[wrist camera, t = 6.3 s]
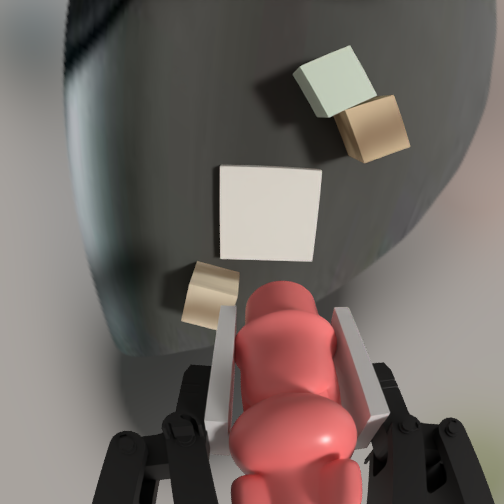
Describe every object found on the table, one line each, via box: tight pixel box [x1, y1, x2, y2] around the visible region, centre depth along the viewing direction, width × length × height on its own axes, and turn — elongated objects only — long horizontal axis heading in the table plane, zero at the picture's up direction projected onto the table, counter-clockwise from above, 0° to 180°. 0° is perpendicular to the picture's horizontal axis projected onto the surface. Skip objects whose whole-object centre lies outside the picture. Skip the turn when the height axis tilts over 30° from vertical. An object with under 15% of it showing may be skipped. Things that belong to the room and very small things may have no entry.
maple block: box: [181, 261, 239, 330], centre depth 33 cm, size 5×5×5 cm
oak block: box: [333, 95, 410, 163], centre depth 25 cm, size 5×5×5 cm
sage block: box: [292, 46, 377, 118], centre depth 23 cm, size 5×5×5 cm
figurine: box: [229, 281, 362, 504], centre depth 10 cm, size 5×5×15 cm
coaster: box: [220, 165, 322, 261], centre depth 31 cm, size 10×10×1 cm
